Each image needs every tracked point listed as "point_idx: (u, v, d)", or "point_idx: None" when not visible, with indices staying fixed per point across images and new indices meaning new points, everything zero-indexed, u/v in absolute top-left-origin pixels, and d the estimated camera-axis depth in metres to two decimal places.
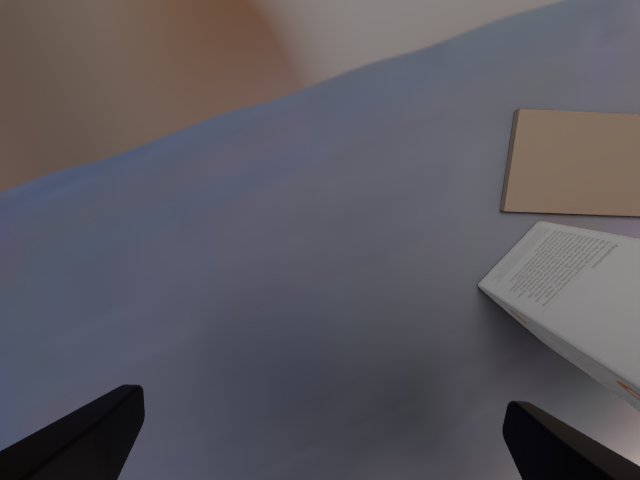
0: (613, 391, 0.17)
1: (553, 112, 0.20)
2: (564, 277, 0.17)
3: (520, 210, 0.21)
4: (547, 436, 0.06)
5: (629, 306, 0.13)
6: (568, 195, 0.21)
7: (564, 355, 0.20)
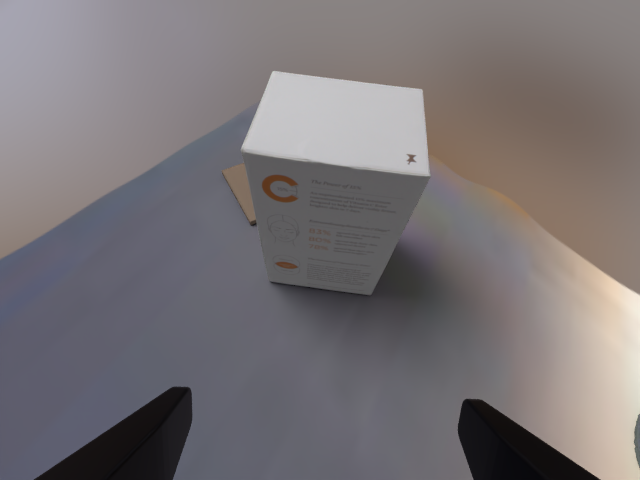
0: (363, 251, 0.18)
1: None
2: None
3: None
4: (493, 434, 0.06)
5: None
6: None
7: (340, 268, 0.20)
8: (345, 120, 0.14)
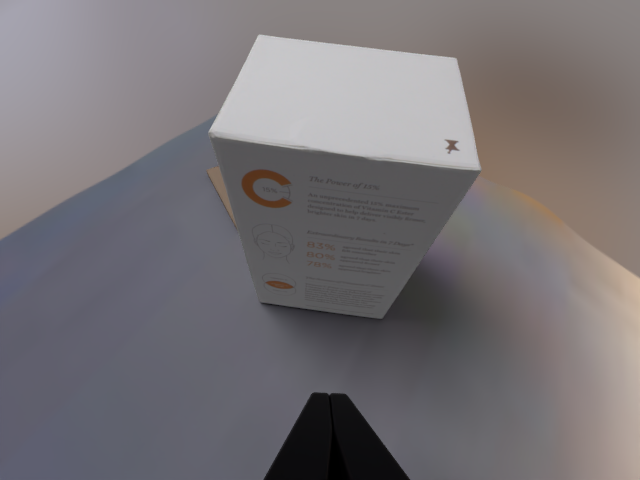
0: (377, 269, 0.14)
1: None
2: None
3: None
4: (333, 428, 0.06)
5: None
6: None
7: (346, 289, 0.16)
8: (356, 95, 0.10)
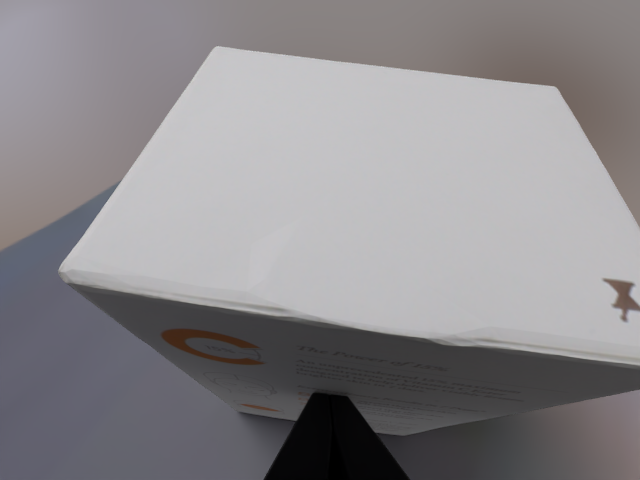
0: (411, 417, 0.09)
1: None
2: None
3: None
4: (333, 428, 0.06)
5: None
6: None
7: None
8: (394, 165, 0.05)
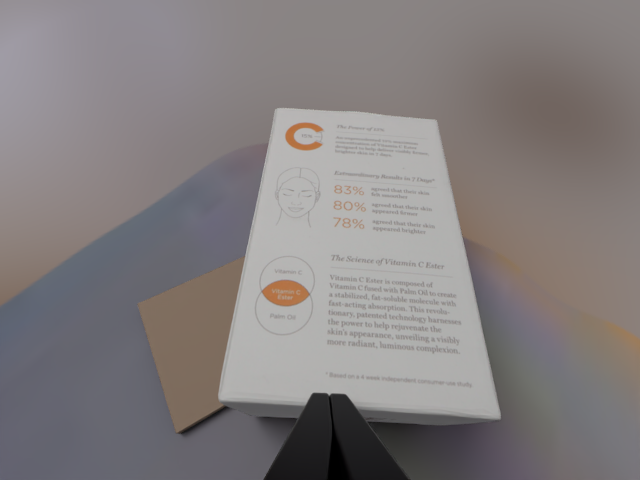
0: (418, 224, 0.12)
1: (181, 286, 0.17)
2: None
3: (201, 415, 0.14)
4: (333, 428, 0.06)
5: None
6: None
7: (394, 281, 0.11)
8: None
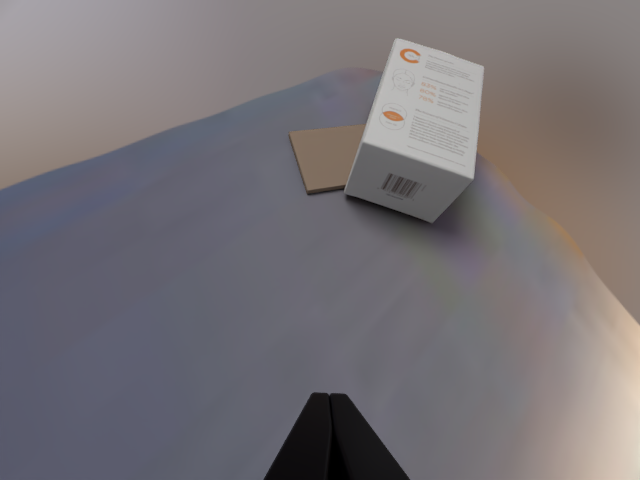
0: (459, 108, 0.24)
1: (312, 130, 0.29)
2: (367, 120, 0.26)
3: (320, 187, 0.26)
4: (333, 428, 0.06)
5: None
6: None
7: (442, 125, 0.23)
8: None
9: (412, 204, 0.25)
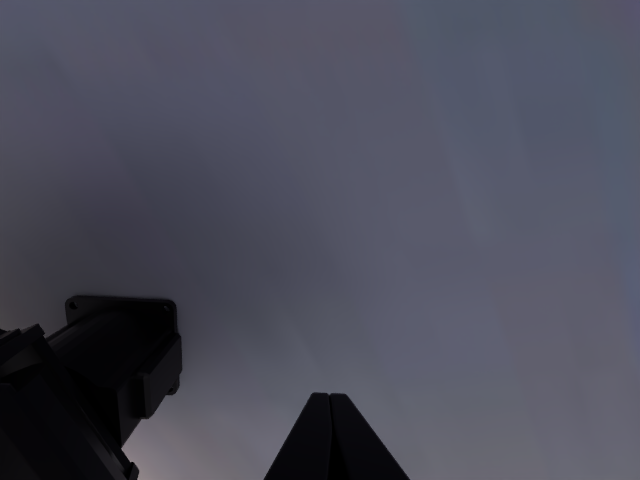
0: None
1: None
2: None
3: None
4: (333, 428, 0.06)
5: None
6: None
7: None
8: None
9: None
